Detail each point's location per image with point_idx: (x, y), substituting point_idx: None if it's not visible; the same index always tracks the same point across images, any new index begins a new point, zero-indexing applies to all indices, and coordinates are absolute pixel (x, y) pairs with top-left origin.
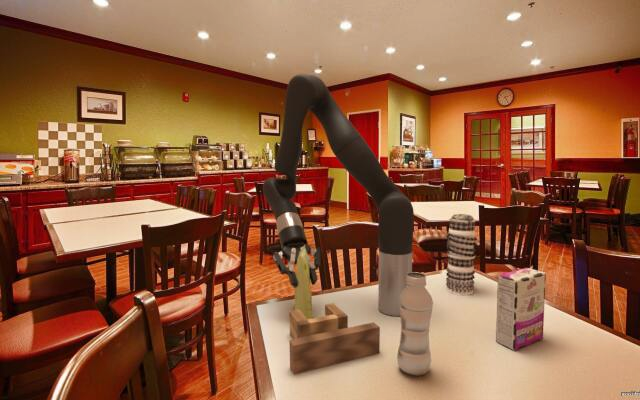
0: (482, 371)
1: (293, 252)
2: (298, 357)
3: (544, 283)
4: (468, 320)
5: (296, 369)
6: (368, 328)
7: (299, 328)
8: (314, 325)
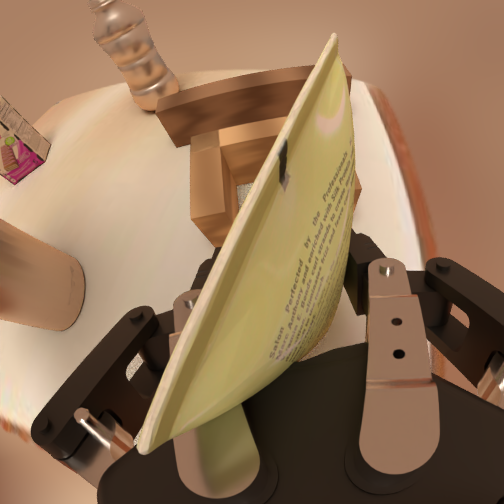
0: (102, 108)
1: (403, 385)
2: None
3: None
4: (22, 219)
5: None
6: (180, 93)
7: None
8: None
